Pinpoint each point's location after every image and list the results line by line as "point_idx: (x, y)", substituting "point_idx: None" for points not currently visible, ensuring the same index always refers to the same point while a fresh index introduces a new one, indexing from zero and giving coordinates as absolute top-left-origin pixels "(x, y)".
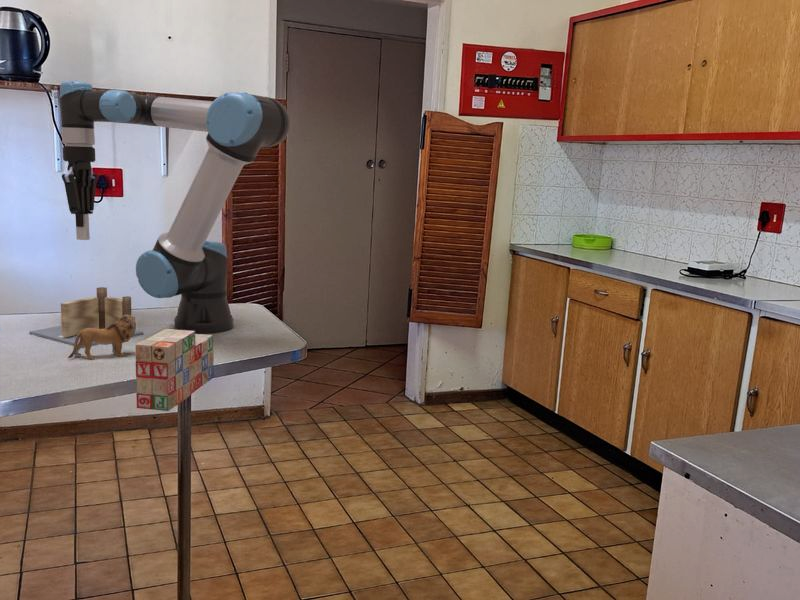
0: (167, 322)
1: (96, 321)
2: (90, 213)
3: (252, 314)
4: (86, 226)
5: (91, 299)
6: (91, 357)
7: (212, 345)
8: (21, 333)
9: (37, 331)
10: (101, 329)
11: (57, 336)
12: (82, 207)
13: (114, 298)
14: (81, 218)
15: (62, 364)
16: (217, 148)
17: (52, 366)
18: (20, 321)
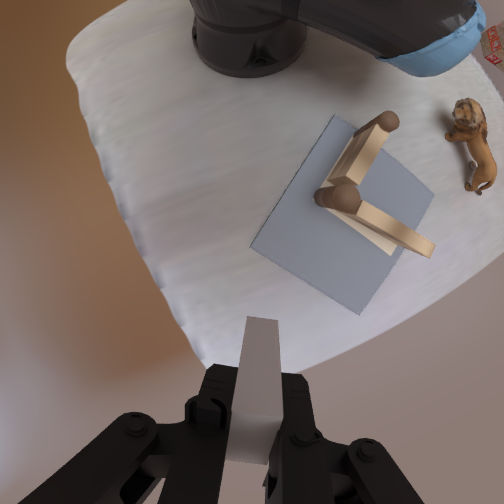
0: (223, 99)
1: None
2: (222, 404)
3: (140, 8)
4: (273, 359)
5: (380, 210)
6: (475, 164)
7: (498, 24)
8: (354, 327)
9: (359, 303)
10: (488, 149)
11: (390, 255)
12: (322, 469)
13: (364, 157)
14: (303, 411)
15: (490, 196)
16: None
17: (496, 205)
18: None
